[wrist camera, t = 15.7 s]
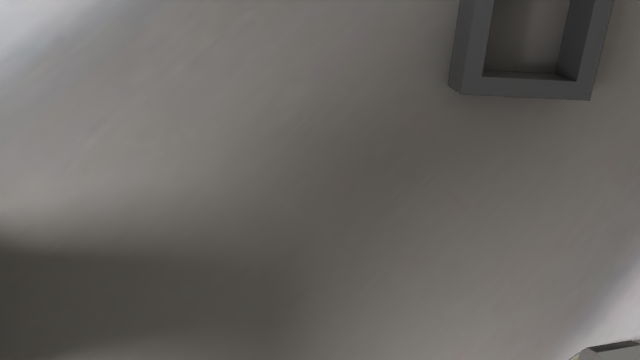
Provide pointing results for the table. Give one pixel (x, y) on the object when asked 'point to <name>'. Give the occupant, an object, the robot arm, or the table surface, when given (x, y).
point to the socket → (567, 83)
